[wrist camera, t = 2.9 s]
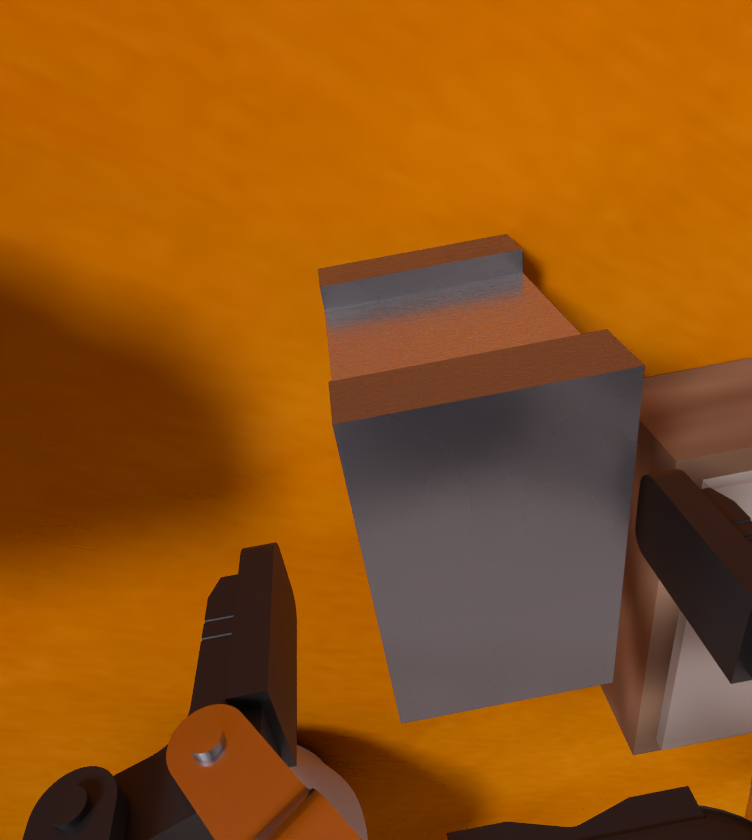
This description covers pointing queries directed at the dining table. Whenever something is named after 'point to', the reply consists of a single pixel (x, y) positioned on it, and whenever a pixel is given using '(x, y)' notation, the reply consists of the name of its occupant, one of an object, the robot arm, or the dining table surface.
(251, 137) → the dining table surface
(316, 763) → the teacup
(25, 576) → the dining table surface
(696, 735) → the stand
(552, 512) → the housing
